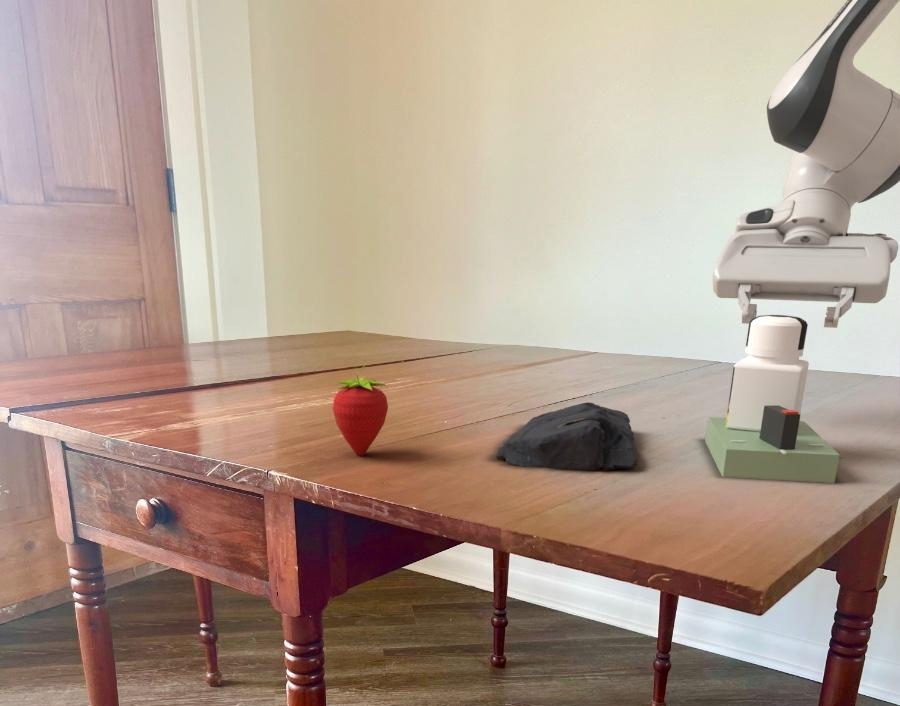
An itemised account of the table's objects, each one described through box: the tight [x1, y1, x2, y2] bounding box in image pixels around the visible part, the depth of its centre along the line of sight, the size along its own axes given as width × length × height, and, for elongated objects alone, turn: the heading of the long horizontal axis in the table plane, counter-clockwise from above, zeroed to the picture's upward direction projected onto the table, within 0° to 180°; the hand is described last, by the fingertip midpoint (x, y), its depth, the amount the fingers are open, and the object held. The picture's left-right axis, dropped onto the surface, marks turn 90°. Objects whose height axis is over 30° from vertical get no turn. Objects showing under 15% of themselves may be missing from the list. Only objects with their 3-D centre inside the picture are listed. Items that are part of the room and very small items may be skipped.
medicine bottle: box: [725, 314, 810, 432], centre depth 96 cm, size 7×7×12 cm
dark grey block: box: [759, 405, 801, 449], centre depth 90 cm, size 5×2×4 cm, turn 5°
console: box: [704, 416, 841, 484], centre depth 95 cm, size 11×18×3 cm, turn 171°
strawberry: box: [332, 363, 389, 457], centre depth 94 cm, size 6×8×10 cm
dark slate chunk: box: [495, 401, 639, 472], centre depth 99 cm, size 15×22×5 cm
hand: (788, 322), depth 104 cm, fingers open, 8 cm apart
